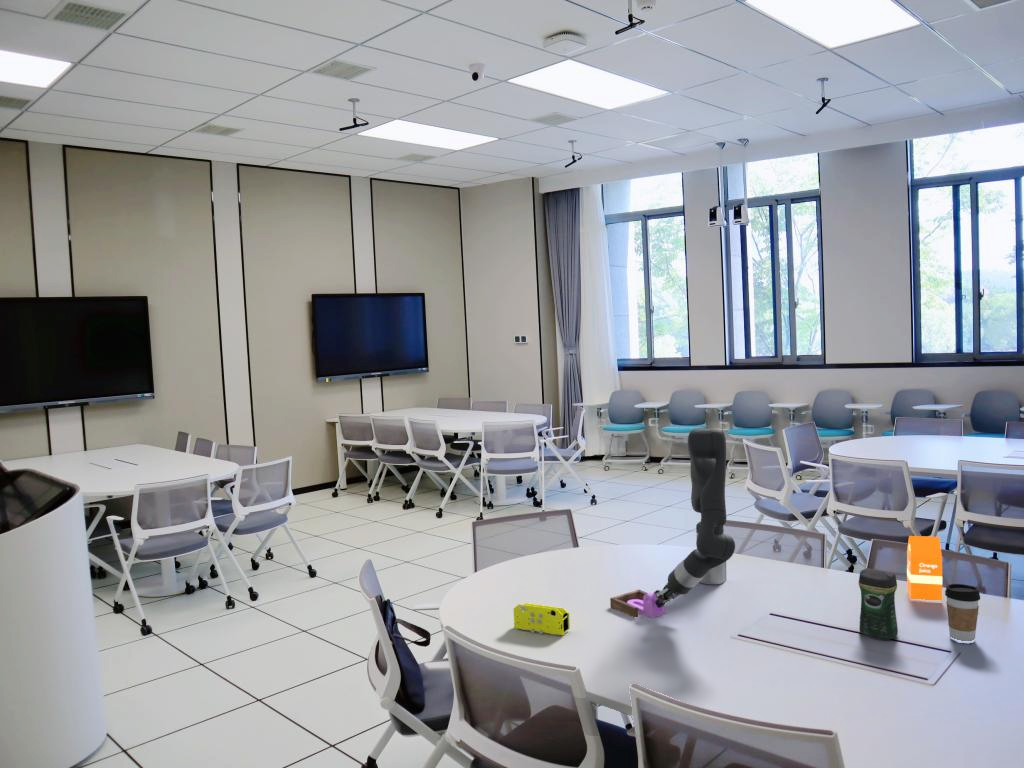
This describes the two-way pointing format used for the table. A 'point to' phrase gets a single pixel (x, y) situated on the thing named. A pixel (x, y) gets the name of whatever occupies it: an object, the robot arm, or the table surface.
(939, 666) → the table surface
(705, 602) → the table surface
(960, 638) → the coffee cup
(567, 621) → the yellow toy chassis
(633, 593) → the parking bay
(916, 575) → the orange juice
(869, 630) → the coffee jar
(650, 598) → the bracket
